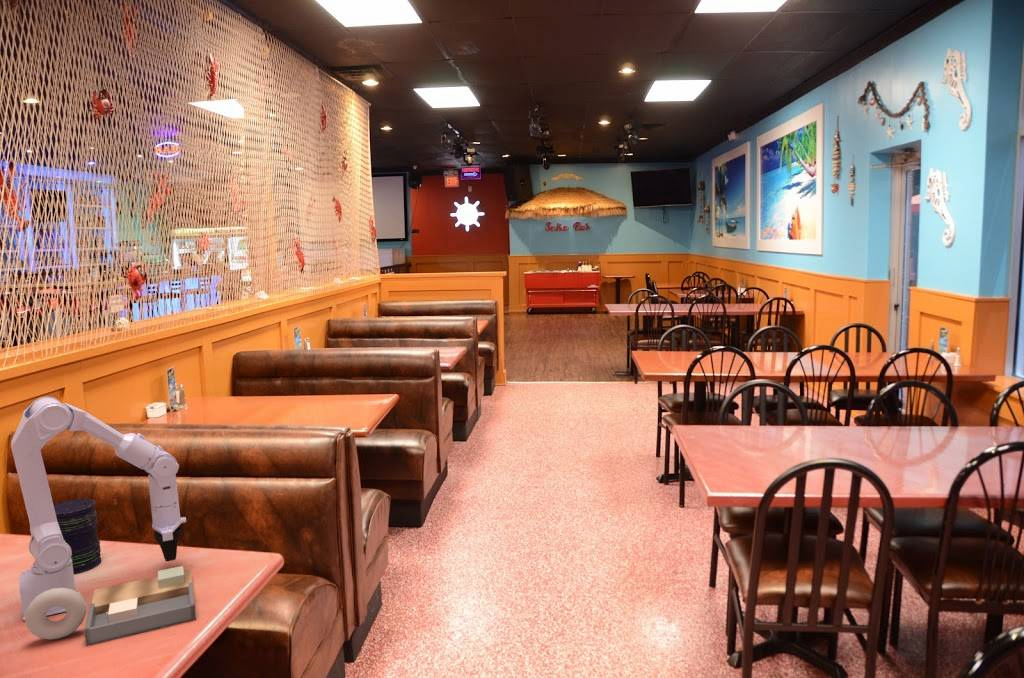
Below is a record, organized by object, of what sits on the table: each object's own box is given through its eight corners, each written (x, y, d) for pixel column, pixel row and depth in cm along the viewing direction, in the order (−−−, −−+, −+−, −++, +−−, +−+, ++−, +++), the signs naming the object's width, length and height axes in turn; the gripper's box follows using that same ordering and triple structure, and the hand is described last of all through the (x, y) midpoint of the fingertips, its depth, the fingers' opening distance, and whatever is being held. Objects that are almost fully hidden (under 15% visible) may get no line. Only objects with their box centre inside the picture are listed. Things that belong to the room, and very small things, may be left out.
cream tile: (109, 624, 141) (108, 614, 141) (111, 612, 146) (109, 603, 145) (137, 617, 143) (136, 608, 143) (138, 606, 148) (137, 597, 147)
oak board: (91, 617, 145) (90, 607, 145) (95, 598, 153) (94, 589, 153) (193, 594, 153) (192, 585, 153) (191, 577, 161) (190, 569, 161)
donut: (27, 649, 134) (20, 599, 132) (29, 640, 137) (23, 591, 135) (88, 635, 138) (82, 586, 137) (89, 626, 141) (84, 579, 140)
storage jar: (49, 579, 163) (42, 516, 161) (57, 562, 172) (50, 503, 170) (99, 570, 167) (92, 508, 165) (104, 554, 176) (97, 495, 174)
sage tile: (159, 588, 152) (158, 580, 152) (158, 579, 156) (158, 570, 156) (184, 583, 154) (183, 574, 154) (183, 574, 158) (183, 565, 158)
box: (86, 645, 134) (84, 630, 134) (91, 617, 145) (89, 604, 144) (196, 619, 142) (194, 605, 142) (193, 595, 153) (192, 581, 152)
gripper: (185, 509, 158) (190, 567, 160) (183, 490, 171) (188, 544, 173) (149, 516, 155) (155, 575, 157) (150, 496, 168) (156, 551, 170)
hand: (170, 559), depth 164 cm, fingers closed
